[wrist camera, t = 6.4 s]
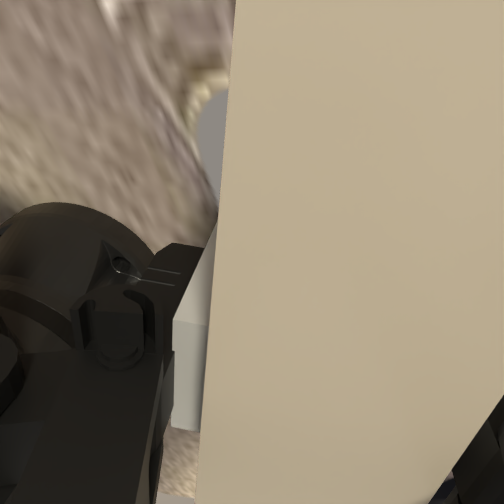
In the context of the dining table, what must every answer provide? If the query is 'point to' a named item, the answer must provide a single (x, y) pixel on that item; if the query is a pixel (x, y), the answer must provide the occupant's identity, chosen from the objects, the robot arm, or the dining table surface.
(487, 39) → the clay slat
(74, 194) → the dining table surface
